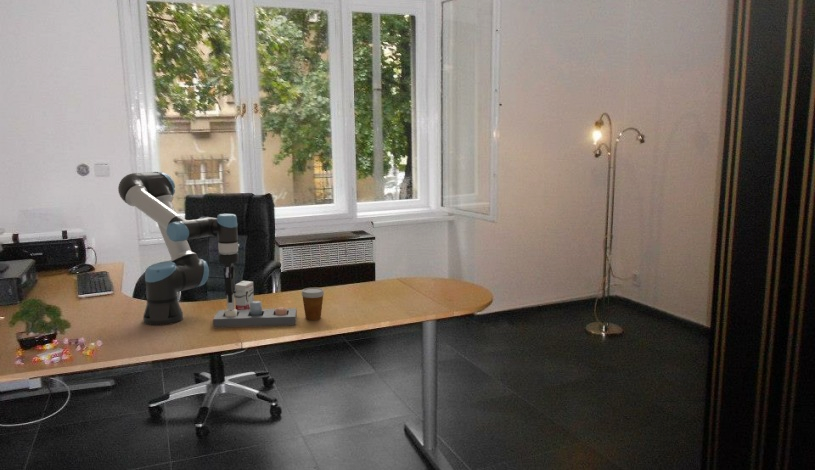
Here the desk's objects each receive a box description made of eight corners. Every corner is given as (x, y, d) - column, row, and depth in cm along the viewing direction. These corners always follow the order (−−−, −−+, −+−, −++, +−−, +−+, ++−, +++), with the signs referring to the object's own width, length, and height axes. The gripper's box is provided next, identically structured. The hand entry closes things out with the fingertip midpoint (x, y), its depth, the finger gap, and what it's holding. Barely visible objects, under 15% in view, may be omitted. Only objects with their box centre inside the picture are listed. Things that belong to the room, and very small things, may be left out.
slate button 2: (249, 316, 239) (249, 303, 239) (251, 312, 244) (250, 300, 243) (261, 315, 240) (260, 303, 239) (262, 312, 245) (262, 300, 244)
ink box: (245, 312, 255) (244, 285, 254) (235, 311, 256) (234, 285, 254) (254, 306, 264) (253, 280, 262) (244, 305, 265) (243, 280, 263)
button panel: (213, 327, 234) (213, 319, 234) (218, 318, 246) (218, 310, 246) (295, 325, 239) (295, 316, 238) (296, 316, 251) (296, 308, 250)
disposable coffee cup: (305, 322, 242) (305, 294, 240) (298, 316, 251) (298, 288, 249) (327, 319, 247) (327, 291, 245) (320, 313, 255) (319, 286, 253)
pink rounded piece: (275, 322, 241) (274, 310, 240) (276, 319, 246) (275, 307, 245) (286, 322, 242) (286, 310, 241) (287, 318, 246) (287, 306, 246)
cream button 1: (224, 324, 239) (224, 311, 238) (226, 320, 243) (225, 308, 242) (236, 323, 239) (235, 311, 238) (237, 320, 244) (237, 308, 243)
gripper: (235, 255, 230) (238, 313, 234) (240, 249, 243) (242, 304, 247) (216, 256, 229) (218, 314, 233) (221, 249, 242) (224, 305, 246)
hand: (231, 309), depth 240 cm, fingers closed
